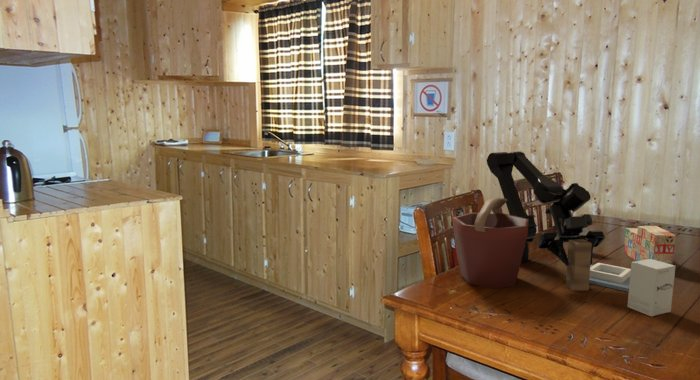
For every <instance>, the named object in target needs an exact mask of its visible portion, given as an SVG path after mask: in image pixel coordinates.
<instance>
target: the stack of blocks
mask: <svg viewBox="0 0 700 380" xmlns="http://www.w3.org/2000/svg"><path fill="white" fill-rule="evenodd" d="M676 237H677V235H675V234H674V233H671V232H670V231H669V230H667V229H664V228H662V227H659V226H657V225H638V226H637V227H626V228H624V247H623V253H624V254H625V255H627V256H629V257H630V258H631V259H633V260H634V261H641V260H646V259H653V260H657V261H660V262H664V263H668V264H671V265H674V263H673V262H674V255H675V248H676V247H675V246H676V245H675V244H676Z"/></svg>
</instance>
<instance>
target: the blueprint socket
mask: <svg viewBox="0 0 700 380" xmlns="http://www.w3.org/2000/svg"><path fill="white" fill-rule="evenodd" d="M630 273H631V268H627V267H623V266H617V265H613V264H607V263H602V262H597V263H595V264H592V265H590V277H589V284H591V285H597V286H601V287H605V288H609V289H613V290H619V291H623V292H627V293H629V284H630Z"/></svg>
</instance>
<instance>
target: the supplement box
mask: <svg viewBox="0 0 700 380" xmlns="http://www.w3.org/2000/svg"><path fill="white" fill-rule="evenodd" d="M630 263H631V265H630V269H631V273H630V284H629V292H628V297H627V308H630V309H631V310H634V311H636V312H639V313H641V314H645V315H647V316H649V317H654V316H659V315H663V314H666V313H671V310H672V302H673V294H674V284H675V275H676V274H675V273H676V265H674V264H673V265H671V264H668V263H664V262H660V261H657V260H653V259H646V260H641V261H636V260H634V261H632V262H630Z"/></svg>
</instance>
